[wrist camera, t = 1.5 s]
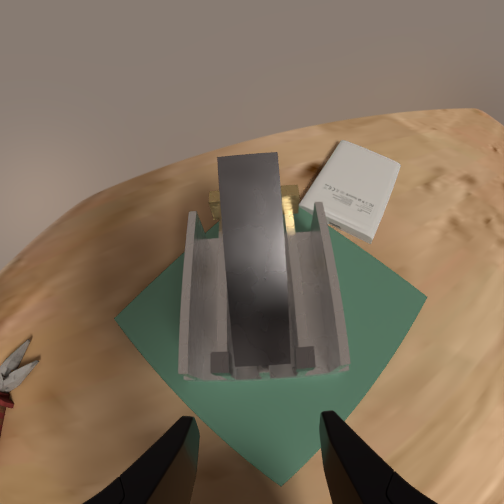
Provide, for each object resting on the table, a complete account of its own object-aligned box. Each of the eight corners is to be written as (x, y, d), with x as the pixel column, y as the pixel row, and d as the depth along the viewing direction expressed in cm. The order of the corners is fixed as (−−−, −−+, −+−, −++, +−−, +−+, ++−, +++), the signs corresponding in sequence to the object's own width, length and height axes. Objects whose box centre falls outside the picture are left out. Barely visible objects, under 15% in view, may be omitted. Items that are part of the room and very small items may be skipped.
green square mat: (422, 301, 23) (427, 297, 22) (280, 483, 17) (280, 486, 16) (262, 190, 31) (262, 183, 30) (119, 322, 25) (113, 318, 24)
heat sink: (344, 373, 20) (375, 357, 14) (189, 382, 21) (151, 370, 14) (324, 239, 26) (337, 183, 20) (194, 248, 27) (170, 196, 20)
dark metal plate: (289, 357, 16) (290, 363, 15) (236, 360, 16) (235, 366, 15) (276, 155, 15) (277, 152, 14) (219, 160, 15) (217, 157, 14)
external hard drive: (398, 172, 32) (369, 246, 27) (339, 148, 35) (297, 213, 30) (401, 163, 31) (373, 237, 26) (341, 138, 33) (298, 202, 28)
